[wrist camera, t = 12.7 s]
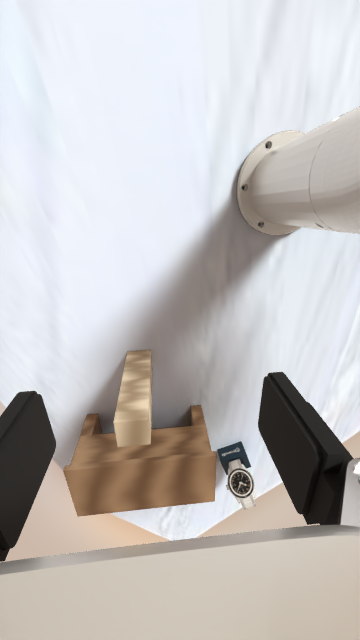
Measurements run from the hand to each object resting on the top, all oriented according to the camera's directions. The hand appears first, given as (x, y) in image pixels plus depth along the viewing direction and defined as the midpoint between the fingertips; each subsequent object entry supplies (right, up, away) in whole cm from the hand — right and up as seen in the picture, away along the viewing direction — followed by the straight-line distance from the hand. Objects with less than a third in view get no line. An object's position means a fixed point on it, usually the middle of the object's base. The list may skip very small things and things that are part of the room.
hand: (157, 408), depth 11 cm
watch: (+12, -25, +46) cm, 54 cm away
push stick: (-6, -12, +38) cm, 40 cm away
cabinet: (-6, -18, +41) cm, 45 cm away
